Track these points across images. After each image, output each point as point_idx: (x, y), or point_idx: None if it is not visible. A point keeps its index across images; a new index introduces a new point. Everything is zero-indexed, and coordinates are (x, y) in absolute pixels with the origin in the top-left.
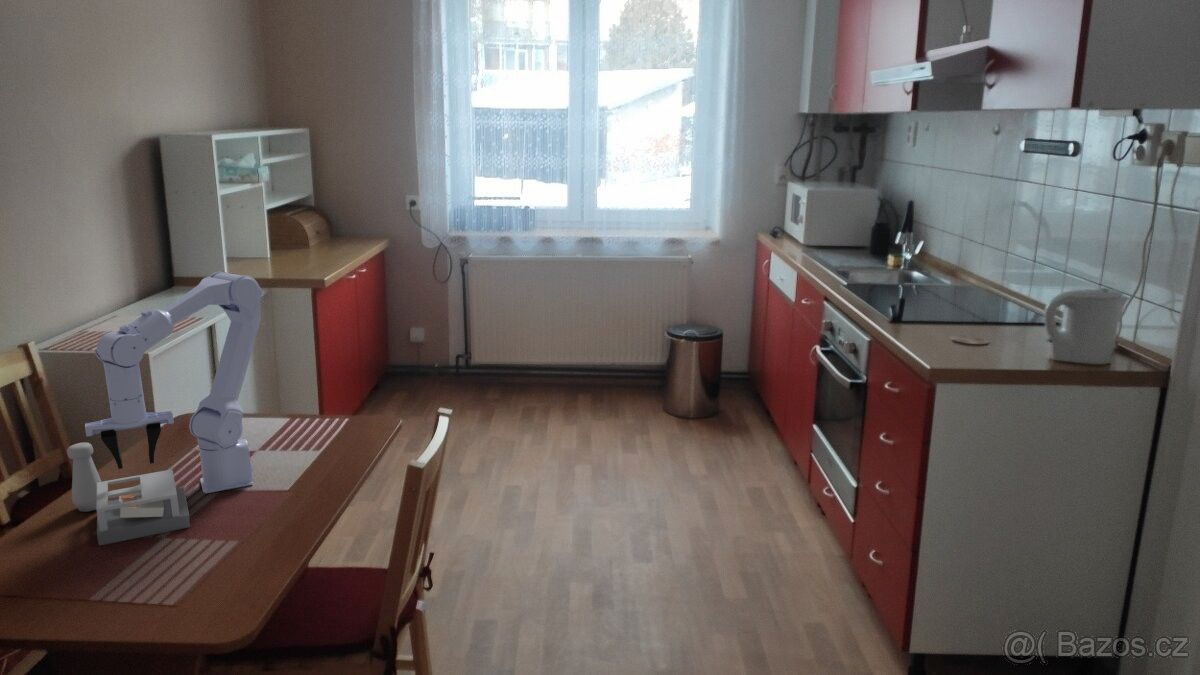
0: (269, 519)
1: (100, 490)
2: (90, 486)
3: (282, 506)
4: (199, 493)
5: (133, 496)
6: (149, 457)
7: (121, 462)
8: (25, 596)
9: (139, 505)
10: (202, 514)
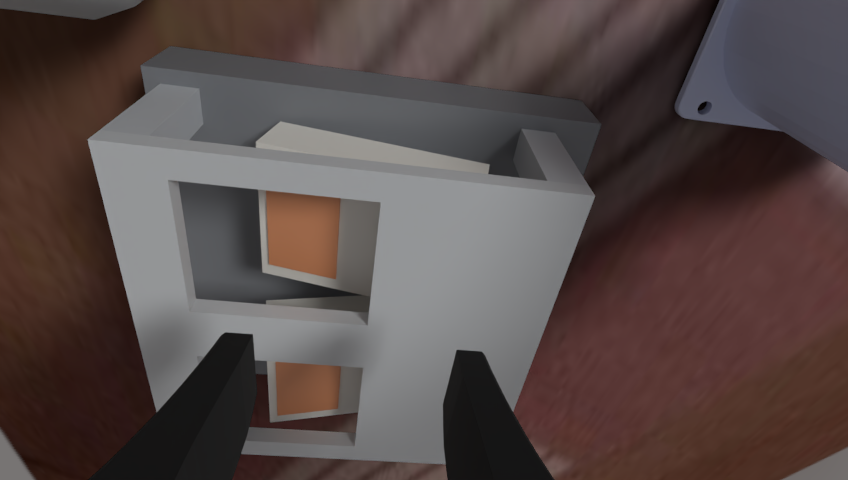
0: (701, 411)
1: (143, 281)
2: (36, 9)
3: (790, 363)
4: (663, 76)
5: (329, 282)
6: (446, 462)
7: (242, 447)
8: (63, 470)
9: (345, 396)
10: (569, 291)
